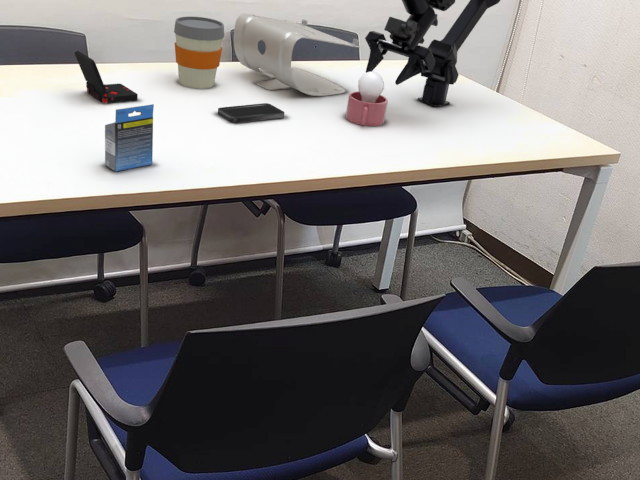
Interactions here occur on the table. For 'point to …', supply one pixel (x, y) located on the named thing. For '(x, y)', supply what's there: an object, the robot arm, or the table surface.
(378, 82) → the lightbulb
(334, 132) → the table surface
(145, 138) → the blue upright rectangular box
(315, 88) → the beige plastic curved shell
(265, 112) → the phone
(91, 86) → the handheld gaming console
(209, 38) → the reusable coffee cup
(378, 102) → the mug
